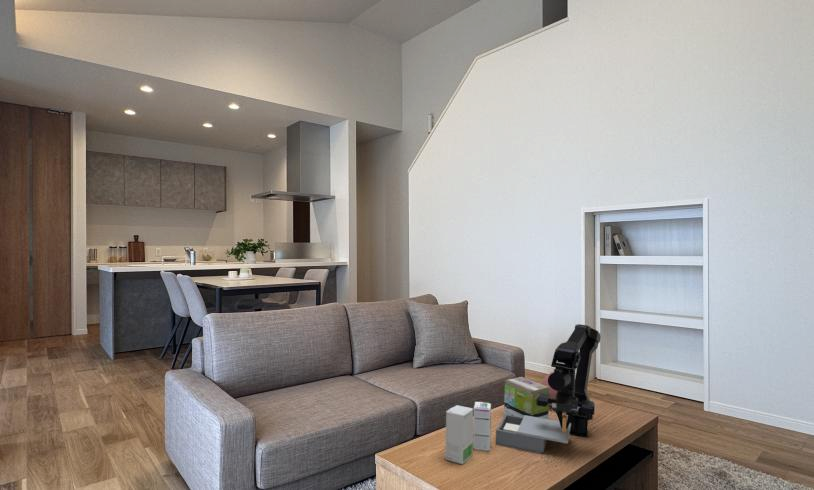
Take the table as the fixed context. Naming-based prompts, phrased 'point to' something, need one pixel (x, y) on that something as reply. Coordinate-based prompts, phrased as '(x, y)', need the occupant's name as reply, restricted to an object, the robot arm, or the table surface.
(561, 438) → the lid
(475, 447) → the syrup box
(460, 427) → the skincare box
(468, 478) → the table surface
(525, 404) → the tea box
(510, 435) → the grey flat block
